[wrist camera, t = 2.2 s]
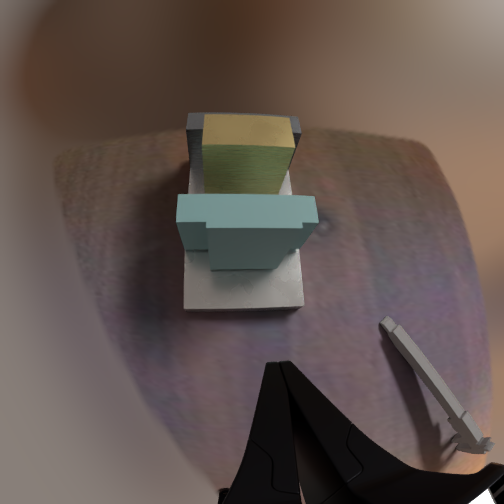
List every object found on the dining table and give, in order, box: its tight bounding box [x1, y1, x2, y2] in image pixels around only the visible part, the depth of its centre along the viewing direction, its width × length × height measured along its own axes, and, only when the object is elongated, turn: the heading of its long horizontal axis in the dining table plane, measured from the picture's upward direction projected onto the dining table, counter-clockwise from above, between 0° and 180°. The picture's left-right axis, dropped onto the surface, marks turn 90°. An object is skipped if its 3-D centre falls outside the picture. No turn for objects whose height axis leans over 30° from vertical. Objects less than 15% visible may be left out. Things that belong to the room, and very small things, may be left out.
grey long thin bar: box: [380, 316, 495, 454], centre depth 17 cm, size 20×1×6 cm, turn 35°
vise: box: [184, 113, 304, 312], centre depth 21 cm, size 15×9×6 cm, turn 3°
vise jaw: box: [176, 194, 319, 270], centre depth 18 cm, size 4×9×7 cm, turn 93°
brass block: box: [202, 114, 295, 195], centre depth 20 cm, size 3×6×7 cm, turn 93°
